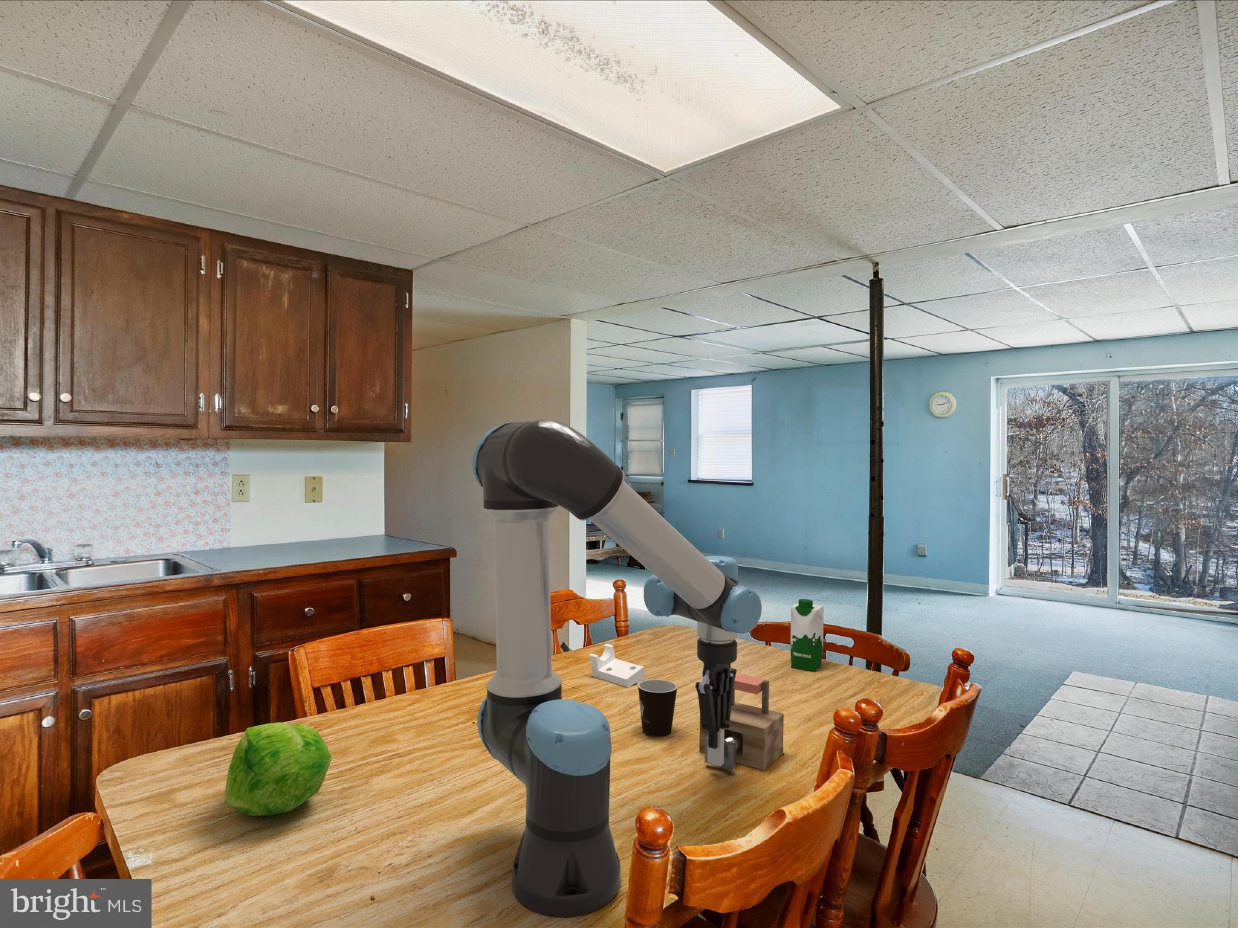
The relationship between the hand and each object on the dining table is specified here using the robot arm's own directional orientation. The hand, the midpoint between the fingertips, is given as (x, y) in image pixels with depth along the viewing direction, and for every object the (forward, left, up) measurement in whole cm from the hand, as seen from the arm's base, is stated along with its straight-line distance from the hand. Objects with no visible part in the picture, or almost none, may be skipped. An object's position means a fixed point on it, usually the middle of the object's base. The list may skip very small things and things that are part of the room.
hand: (715, 762), depth 126 cm
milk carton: (+78, +9, -2) cm, 79 cm away
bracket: (+34, +47, -3) cm, 58 cm away
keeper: (+15, 0, +10) cm, 18 cm away
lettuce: (-55, +54, -2) cm, 77 cm away
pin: (+9, 0, -1) cm, 9 cm away
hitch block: (+12, 0, -2) cm, 12 cm away
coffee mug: (+12, +20, -2) cm, 24 cm away
